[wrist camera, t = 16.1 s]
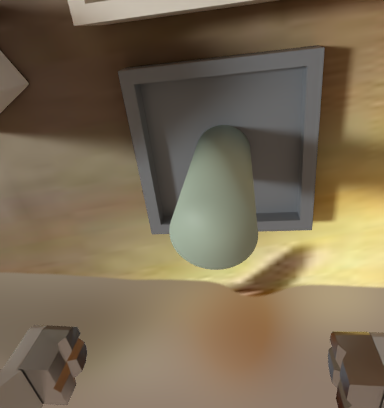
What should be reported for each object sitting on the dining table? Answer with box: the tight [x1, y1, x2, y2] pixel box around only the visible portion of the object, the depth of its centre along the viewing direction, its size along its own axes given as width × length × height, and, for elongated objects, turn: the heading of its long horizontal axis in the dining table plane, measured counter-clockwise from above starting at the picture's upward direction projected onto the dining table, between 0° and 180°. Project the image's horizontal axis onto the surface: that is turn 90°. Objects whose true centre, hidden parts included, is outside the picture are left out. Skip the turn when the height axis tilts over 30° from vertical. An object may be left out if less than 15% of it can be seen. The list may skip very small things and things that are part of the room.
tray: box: [118, 45, 325, 234], centre depth 26 cm, size 14×14×2 cm
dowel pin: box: [169, 125, 258, 270], centre depth 21 cm, size 4×4×12 cm
